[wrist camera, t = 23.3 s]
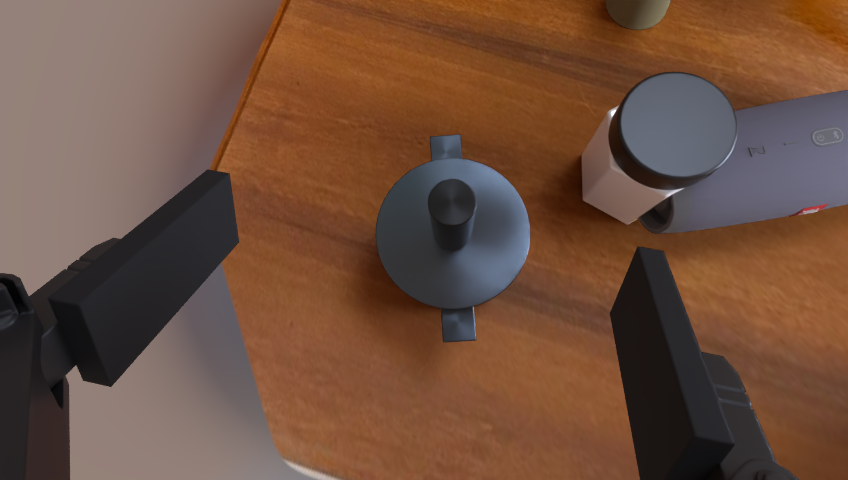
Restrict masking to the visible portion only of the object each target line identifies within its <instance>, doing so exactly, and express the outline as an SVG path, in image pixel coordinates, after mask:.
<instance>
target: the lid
mask: <svg viewBox="0 0 848 480" xmlns="http://www.w3.org/2000/svg"><path fill="white" fill-rule="evenodd" d="M376 243H377V249H378V253H379V257H380V259H381V262H382V264H383V266H384V268H385V270H386V272H387V274H388V275H389V276H390V278H391V279H392V280H393V282H394V283H395V284H396V285H397V286H398V287H399V288H400V289H401V290H402V291H404V292H405V293H406V294H407V295H409V296H410V297H412V298H414V299H415V300H417V301H419V302H421V303H424V304H426V305H429V306H432V307H436V308H442V309H464V308H470V307H474V306H477V305H480V304H482V303H485V302H487V301H489V300H491V299H492V298H494V297H496V296H497V295H499V294H500V293H501V292H502V291H504V290H505V289H506V288H507V287H508V286H509V285H510V284H511V283H512V282H513V280H514V279H515V278H516V276H517V275H518V274H519V272H520V270H521V268H522V266H523V264H524V262H525V259H526V257H527V253H528V249H529V244H530V223H529V218H528V214H527V211H526V207H525V205H524V203H523V201H522V199H521V197H520V195H519V194H518V192H517V190H516V189H515V188H514V187H513V185H512V184H511V183H510V182H509V181H508V180H507V179H506V178H505V177H504V176H503V175H501V174H500V173H498V172H497V171H496V170H494V169H492V168H490V167H488V166H487V165H484V164H482V163H479V162H476V161H472V160H468V159H461V158H445V159H438V160H434V161H430V162H427V163H425V164H422V165H420V166H418V167H416V168H414V169H412V170H411V171H409V172H408V173H406V174H405V175H404V176H402V177H401V178H400V179H399V180H398V181H397V182H396V183H395V184H394V186H393V187H392V188H391V189H390V191H389V192H388V194H387V195H386V197H385V199H384V201H383V203H382V205H381V208H380V211H379V214H378V218H377V224H376Z"/></svg>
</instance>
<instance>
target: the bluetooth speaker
mask: <svg viewBox="0 0 848 480" xmlns="http://www.w3.org/2000/svg"><path fill="white" fill-rule="evenodd" d="M735 114H736V118H737V123H738V135H737V141H736V144H735V147H734V149H733V151H732V153H731V155H730V156H729V158H728V159H727V160H726V161H725V163H724V164H723V165H722V166H720V167H719V168H718V169H717V170H716V171H715V172H714V173H713V174H711V175H710V176H708V177H707V178H705V179H702V180H700V181H699V182H697V183H695V184H693V185H691V186H689V187H686V188H684V189H682V190H680V191H678V192H676V193H675V194H673V195H671V197H670V198H669V199H667V200H666V201H664V202H663V203H661V204H660V205H658V206H657V207H655V208H654V210H652V211H650V212H648V213H647V214H645V215H643V216H641V217H640V218H639V220H640V222H641V223H642V225H643V226H644V227H645V228H646V229H647V230H648V231H650V232H652V233H655V234H662V233H678V232H689V231H696V230H703V229H710V228H717V227H724V226H730V225H737V224H744V223H750V222H756V221H763V220H769V219H774V218H780V217H785V216H789V217H790V216H795V215H803V214H808V213H814V212H817V211H819V210H823V209H828V208H833V207H837V206H842V205H847V204H848V90H844V91H838V92H832V93H826V94H820V95H814V96H808V97H803V98H797V99H792V100H786V101H781V102H776V103H771V104H766V105H761V106H756V107H751V108H746V109H742V110H737V111H735Z"/></svg>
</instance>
